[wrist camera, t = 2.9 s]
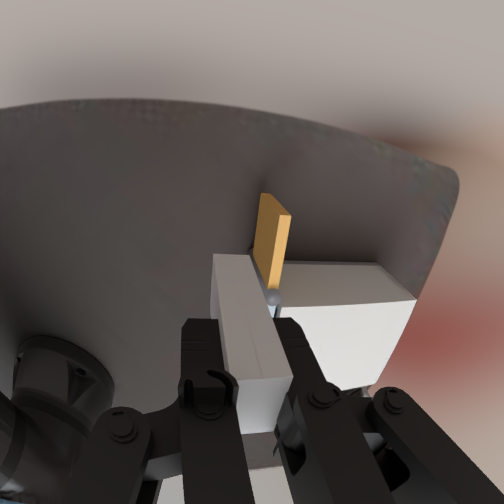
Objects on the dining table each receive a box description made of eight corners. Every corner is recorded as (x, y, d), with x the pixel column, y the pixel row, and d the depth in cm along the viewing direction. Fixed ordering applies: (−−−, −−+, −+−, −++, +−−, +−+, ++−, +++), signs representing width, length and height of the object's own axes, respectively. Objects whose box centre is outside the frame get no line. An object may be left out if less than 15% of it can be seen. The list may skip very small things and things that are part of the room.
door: (232, 350, 33) (242, 402, 26) (251, 188, 25) (273, 217, 18) (245, 349, 33) (258, 401, 27) (269, 190, 26) (296, 218, 19)
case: (246, 349, 34) (260, 401, 27) (260, 259, 29) (281, 307, 22) (348, 341, 37) (375, 383, 30) (377, 262, 32) (416, 299, 25)
